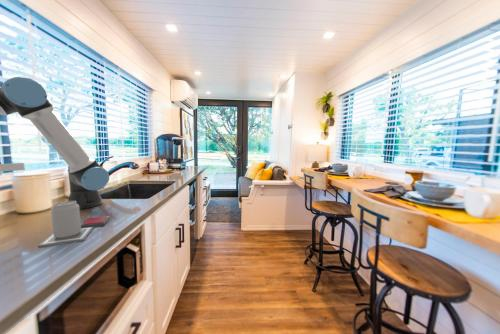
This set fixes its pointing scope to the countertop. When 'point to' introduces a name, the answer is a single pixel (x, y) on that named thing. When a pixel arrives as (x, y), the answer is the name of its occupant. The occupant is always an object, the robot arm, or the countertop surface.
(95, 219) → the ink pad
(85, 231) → the board
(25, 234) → the countertop surface
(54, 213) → the grey upright rounded block
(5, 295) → the countertop surface
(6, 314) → the countertop surface
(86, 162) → the robot arm
